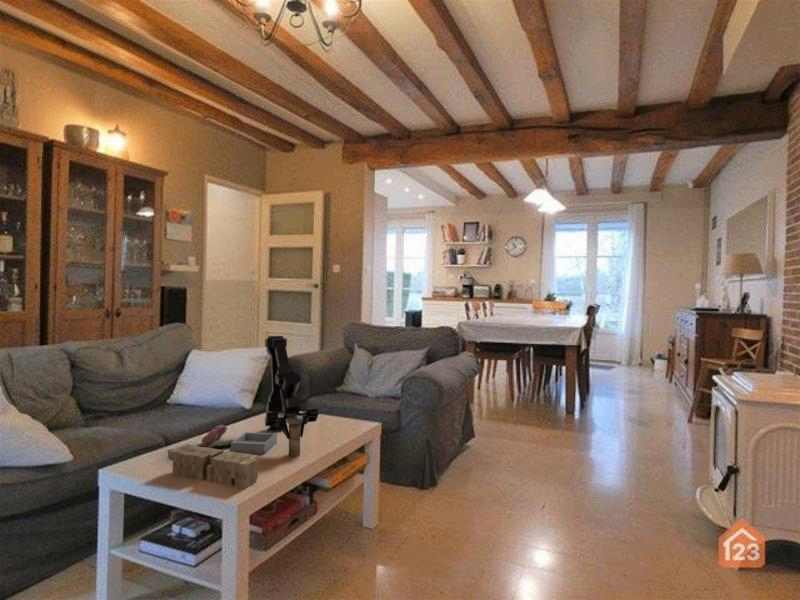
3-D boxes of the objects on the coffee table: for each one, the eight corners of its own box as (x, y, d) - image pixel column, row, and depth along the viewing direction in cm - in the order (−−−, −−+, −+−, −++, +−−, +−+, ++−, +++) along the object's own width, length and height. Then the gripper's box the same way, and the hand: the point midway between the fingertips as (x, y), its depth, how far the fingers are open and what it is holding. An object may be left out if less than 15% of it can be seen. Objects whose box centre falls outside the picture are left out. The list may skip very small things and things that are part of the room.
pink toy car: (209, 448, 182) (217, 433, 181) (199, 442, 182) (207, 426, 182) (223, 440, 191) (231, 425, 191) (214, 434, 192) (221, 419, 191)
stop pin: (289, 451, 175) (289, 415, 175) (304, 452, 175) (304, 415, 174) (284, 457, 170) (284, 419, 169) (299, 458, 169) (300, 420, 169)
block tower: (261, 483, 150) (186, 466, 160) (262, 456, 150) (187, 441, 159) (245, 492, 143) (168, 475, 152) (246, 464, 142) (169, 448, 152)
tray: (245, 441, 186) (245, 432, 186) (276, 442, 185) (277, 433, 185) (230, 452, 174) (230, 442, 174) (264, 454, 172) (264, 444, 172)
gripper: (266, 389, 171) (271, 429, 162) (317, 386, 179) (325, 423, 169) (262, 406, 179) (267, 445, 169) (312, 402, 186) (319, 439, 177)
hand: (295, 437), depth 171 cm, fingers closed on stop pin, 4 cm apart
